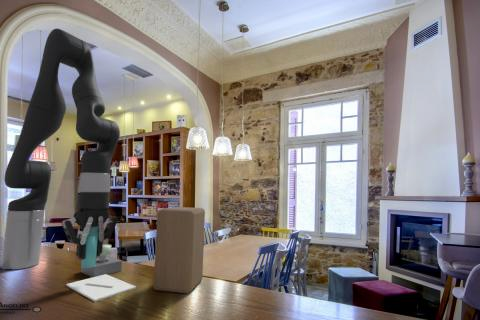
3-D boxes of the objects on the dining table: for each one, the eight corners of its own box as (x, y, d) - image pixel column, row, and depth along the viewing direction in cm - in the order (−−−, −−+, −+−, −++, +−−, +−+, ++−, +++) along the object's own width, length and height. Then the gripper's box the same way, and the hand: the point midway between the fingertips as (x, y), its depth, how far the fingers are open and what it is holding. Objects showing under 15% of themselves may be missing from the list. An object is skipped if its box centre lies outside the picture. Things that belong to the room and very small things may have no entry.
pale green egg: (90, 265, 76) (92, 246, 77) (105, 262, 80) (106, 243, 81) (97, 268, 74) (99, 248, 75) (112, 264, 77) (114, 245, 78)
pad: (66, 285, 65) (66, 283, 65) (105, 275, 73) (105, 273, 73) (94, 301, 57) (95, 299, 57) (135, 288, 65) (135, 286, 65)
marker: (78, 266, 65) (81, 226, 67) (92, 263, 68) (95, 225, 69) (84, 268, 63) (87, 227, 65) (98, 265, 66) (101, 226, 67)
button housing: (80, 272, 76) (81, 261, 76) (107, 265, 82) (108, 256, 83) (93, 277, 71) (94, 266, 72) (121, 270, 78) (122, 260, 78)
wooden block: (170, 277, 73) (173, 206, 75) (203, 280, 71) (206, 207, 73) (151, 291, 63) (156, 209, 66) (189, 295, 61) (192, 210, 63)
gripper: (112, 190, 76) (108, 250, 74) (58, 190, 65) (51, 261, 63) (126, 190, 72) (122, 254, 70) (70, 190, 60) (64, 266, 58)
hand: (89, 257), depth 66 cm, fingers closed on marker, 3 cm apart
